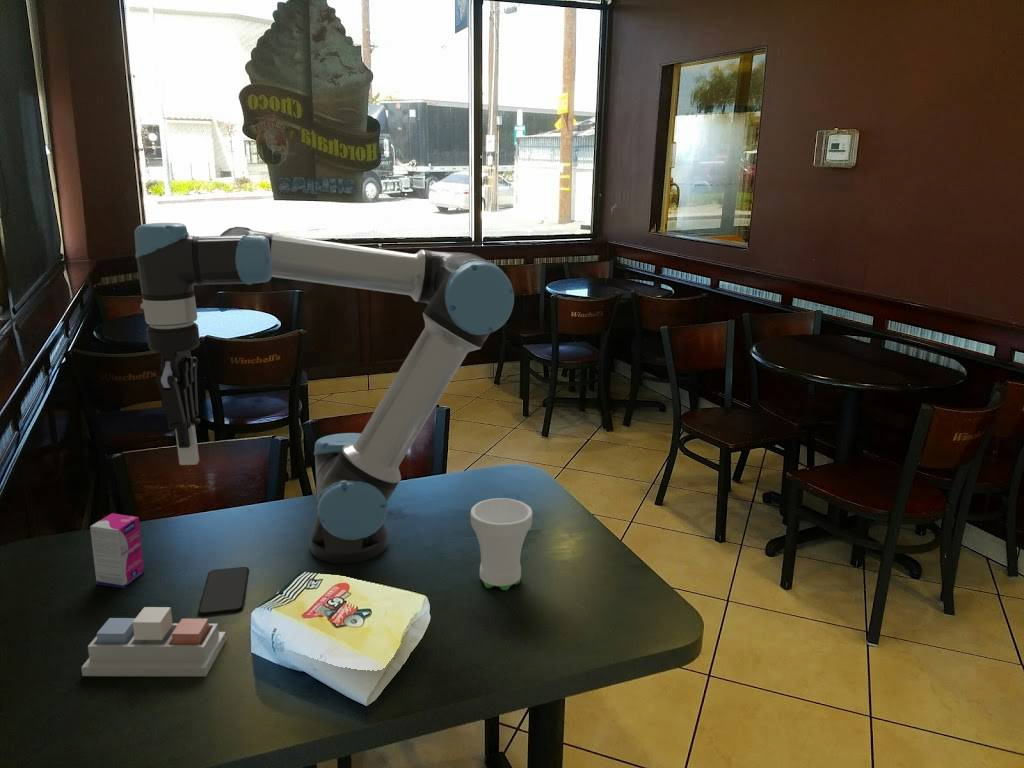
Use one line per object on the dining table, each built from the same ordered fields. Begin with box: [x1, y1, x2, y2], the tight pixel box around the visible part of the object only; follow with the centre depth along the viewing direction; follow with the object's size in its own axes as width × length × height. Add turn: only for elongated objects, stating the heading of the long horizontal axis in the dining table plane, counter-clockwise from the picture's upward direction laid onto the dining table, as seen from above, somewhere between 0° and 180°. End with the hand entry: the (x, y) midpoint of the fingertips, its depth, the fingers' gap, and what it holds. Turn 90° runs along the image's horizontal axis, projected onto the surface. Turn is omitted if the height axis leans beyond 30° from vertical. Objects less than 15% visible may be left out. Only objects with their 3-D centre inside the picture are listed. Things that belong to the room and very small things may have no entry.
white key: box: [133, 606, 173, 640], centre depth 115 cm, size 4×4×3 cm
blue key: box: [96, 617, 136, 645], centre depth 115 cm, size 4×4×3 cm
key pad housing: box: [80, 622, 227, 678], centre depth 116 cm, size 18×9×4 cm, turn 92°
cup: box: [470, 497, 533, 591], centre depth 139 cm, size 11×11×14 cm
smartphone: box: [197, 566, 250, 617], centre depth 135 cm, size 7×1×15 cm
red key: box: [172, 618, 210, 645], centre depth 116 cm, size 4×4×3 cm
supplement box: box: [89, 512, 145, 589], centre depth 137 cm, size 6×6×12 cm
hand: (189, 462), depth 126 cm, fingers closed
